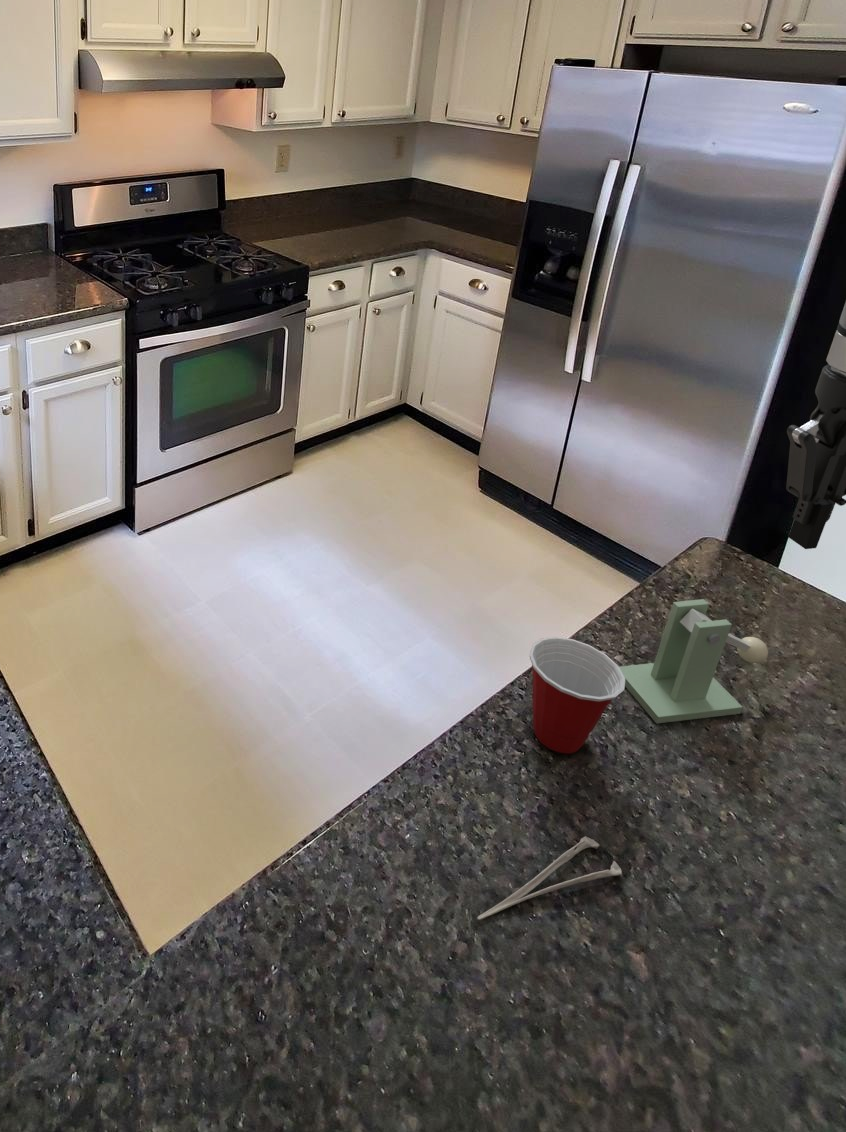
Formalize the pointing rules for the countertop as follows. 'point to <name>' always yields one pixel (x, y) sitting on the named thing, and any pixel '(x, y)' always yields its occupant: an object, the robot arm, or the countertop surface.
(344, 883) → the countertop surface
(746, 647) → the lever
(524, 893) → the lower jaw bone
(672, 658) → the bracket
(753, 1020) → the countertop surface
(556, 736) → the plastic cup
